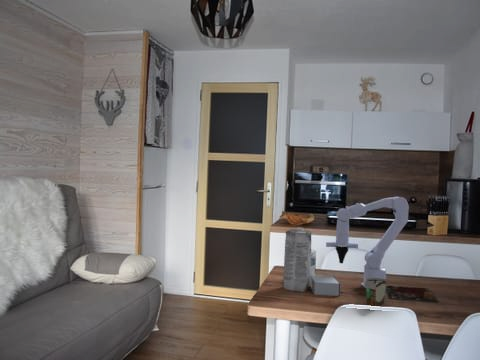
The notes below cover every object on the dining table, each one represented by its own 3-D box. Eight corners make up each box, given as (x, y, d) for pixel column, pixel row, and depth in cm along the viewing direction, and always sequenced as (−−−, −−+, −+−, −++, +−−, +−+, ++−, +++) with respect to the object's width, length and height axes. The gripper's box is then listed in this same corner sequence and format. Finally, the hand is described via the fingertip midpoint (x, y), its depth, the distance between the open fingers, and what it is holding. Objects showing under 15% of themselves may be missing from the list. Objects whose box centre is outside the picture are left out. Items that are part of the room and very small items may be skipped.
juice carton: (305, 293, 174) (307, 229, 174) (281, 289, 178) (284, 227, 178) (310, 288, 182) (313, 227, 182) (287, 285, 186) (290, 225, 186)
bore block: (333, 287, 186) (333, 275, 186) (339, 296, 172) (340, 283, 172) (310, 286, 187) (310, 274, 187) (314, 294, 173) (315, 282, 173)
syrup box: (309, 282, 194) (311, 251, 194) (298, 280, 197) (300, 249, 197) (315, 280, 198) (316, 250, 198) (304, 278, 202) (305, 248, 202)
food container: (370, 300, 168) (371, 276, 168) (385, 304, 164) (387, 279, 164) (358, 307, 158) (359, 281, 158) (374, 310, 154) (375, 284, 154)
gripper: (328, 234, 189) (327, 263, 189) (360, 235, 189) (358, 265, 189) (325, 232, 196) (324, 260, 196) (356, 233, 196) (355, 262, 196)
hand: (341, 262), depth 193 cm, fingers closed
